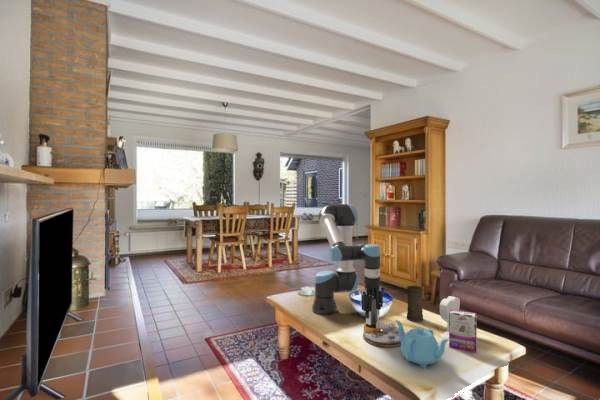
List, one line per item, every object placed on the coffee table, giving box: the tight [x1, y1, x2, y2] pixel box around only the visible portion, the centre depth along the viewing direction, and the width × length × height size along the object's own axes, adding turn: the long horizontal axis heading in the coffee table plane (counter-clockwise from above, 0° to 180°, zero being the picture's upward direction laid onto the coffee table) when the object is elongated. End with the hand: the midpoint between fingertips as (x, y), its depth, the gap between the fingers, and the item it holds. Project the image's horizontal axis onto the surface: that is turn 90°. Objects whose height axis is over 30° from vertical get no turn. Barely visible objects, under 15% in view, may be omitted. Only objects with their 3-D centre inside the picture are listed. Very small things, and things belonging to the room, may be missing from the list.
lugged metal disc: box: [363, 321, 400, 345], centre depth 161 cm, size 19×19×4 cm
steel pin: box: [368, 297, 376, 328], centre depth 162 cm, size 4×4×16 cm
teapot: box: [395, 319, 450, 369], centre depth 139 cm, size 16×20×14 cm
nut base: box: [362, 332, 401, 349], centre depth 161 cm, size 20×20×1 cm
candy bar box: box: [448, 310, 478, 353], centre depth 150 cm, size 11×5×16 cm, turn 59°
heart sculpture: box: [439, 295, 461, 339], centre depth 166 cm, size 16×5×18 cm, turn 132°
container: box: [406, 285, 424, 323], centre depth 185 cm, size 9×9×18 cm
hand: (372, 322), depth 162 cm, fingers open, 4 cm apart
